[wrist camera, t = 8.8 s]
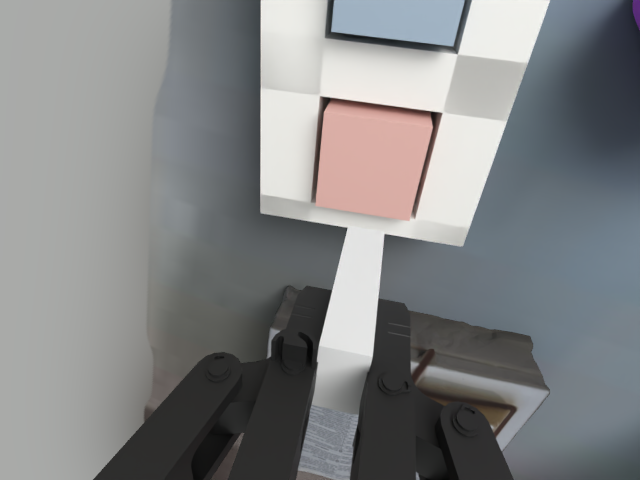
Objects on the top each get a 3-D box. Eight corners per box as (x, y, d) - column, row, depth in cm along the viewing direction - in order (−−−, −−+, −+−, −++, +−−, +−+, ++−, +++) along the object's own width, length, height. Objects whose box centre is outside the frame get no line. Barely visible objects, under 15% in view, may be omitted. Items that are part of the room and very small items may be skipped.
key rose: (408, 194, 28) (409, 221, 25) (324, 181, 29) (315, 205, 26) (429, 108, 25) (432, 127, 22) (333, 95, 25) (323, 112, 22)
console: (453, 204, 32) (462, 246, 27) (281, 177, 33) (260, 213, 28) (561, -138, 20) (611, -172, 15) (293, -158, 22) (261, -196, 17)
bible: (302, 244, 37) (273, 320, 29) (566, 345, 38) (610, 446, 30) (247, 383, 50) (217, 461, 42) (444, 455, 52) (452, 544, 43)
